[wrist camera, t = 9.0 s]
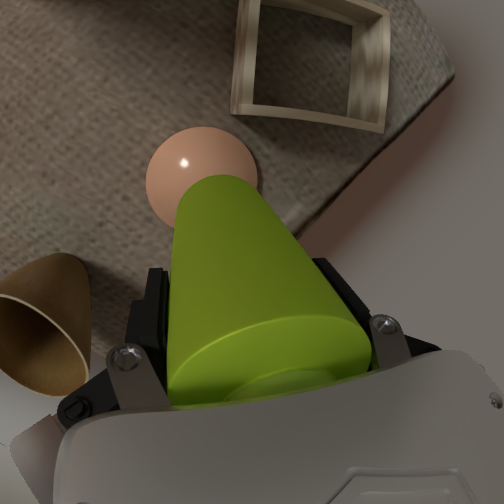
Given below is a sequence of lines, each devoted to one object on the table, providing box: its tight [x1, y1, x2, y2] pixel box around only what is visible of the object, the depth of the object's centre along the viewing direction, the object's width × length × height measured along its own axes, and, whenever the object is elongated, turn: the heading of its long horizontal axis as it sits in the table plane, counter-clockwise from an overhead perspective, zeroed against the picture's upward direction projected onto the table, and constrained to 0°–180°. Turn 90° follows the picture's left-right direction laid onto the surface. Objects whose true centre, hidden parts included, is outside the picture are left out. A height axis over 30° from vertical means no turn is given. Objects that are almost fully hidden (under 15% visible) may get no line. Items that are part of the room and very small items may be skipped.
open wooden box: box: [230, 0, 390, 134], centre depth 24 cm, size 16×16×7 cm
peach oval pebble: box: [146, 126, 257, 228], centre depth 32 cm, size 13×13×1 cm
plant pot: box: [0, 253, 92, 398], centre depth 27 cm, size 15×15×16 cm
